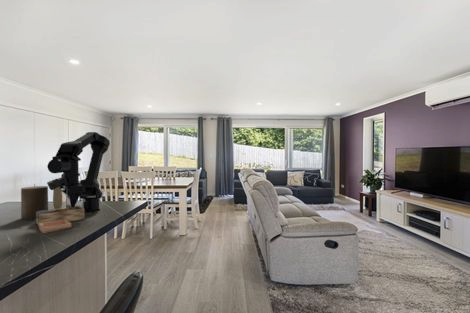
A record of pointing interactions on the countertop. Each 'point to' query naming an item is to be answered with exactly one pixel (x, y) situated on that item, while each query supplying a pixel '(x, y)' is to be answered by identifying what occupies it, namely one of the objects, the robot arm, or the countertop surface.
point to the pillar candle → (33, 201)
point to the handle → (57, 198)
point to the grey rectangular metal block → (44, 212)
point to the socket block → (62, 215)
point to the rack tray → (54, 226)
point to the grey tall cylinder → (68, 205)
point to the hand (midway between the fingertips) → (71, 206)
